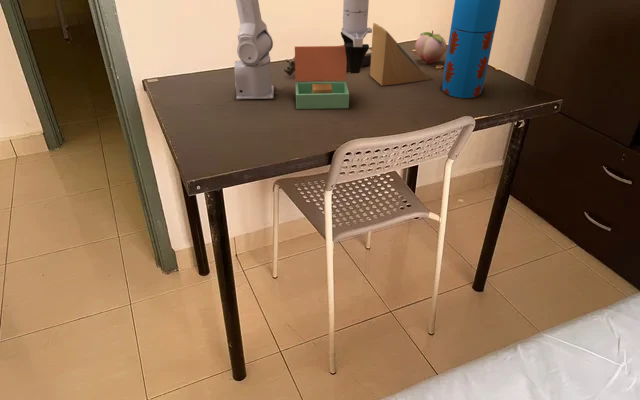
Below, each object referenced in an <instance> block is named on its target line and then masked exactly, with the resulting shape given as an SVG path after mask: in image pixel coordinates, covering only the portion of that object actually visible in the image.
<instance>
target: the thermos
mask: <svg viewBox="0 0 640 400" xmlns="http://www.w3.org/2000/svg"><path fill="white" fill-rule="evenodd" d="M501 2H502V1H501V0H454V4H453V10H452V18H451V25H450V30H449V37H448V43H447V48H446V50H447V51H446V57H445V63H444V67H443V68H444V70H443V76H442V86H441V87H442V88H441V91H443V93H444V94H447V96H451V97H454V98H460V99H472V98H476V97H477V98H478V97H479V96H480V95H481V94H482V92H483V88H484V85H485V80H486V76H487V71H488V67H489V61H490V56H491V51H492V46H493V41H494V37H495V33H496V27H497V21H498V18H499V11H500V7H501Z"/></svg>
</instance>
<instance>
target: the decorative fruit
mask: <svg viewBox="0 0 640 400" xmlns="http://www.w3.org/2000/svg"><path fill="white" fill-rule="evenodd" d="M414 50H415V53H416V54H417V56H418V58H419V59H420V60H421V61H423V62H424V63H426V64H427V65H431V64H433V63H436V62H438V61H439V60H440V59H442V58H443V56H444V54H445V53H446V50H447V42H446V40H445V38H444V37H443V36H442V35H440V34H437V33H434V30H431V32H429V31H425V32H421V33H420V34H419V37H418V38H417V39H416V41H415V44H414Z"/></svg>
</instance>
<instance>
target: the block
mask: <svg viewBox="0 0 640 400" xmlns="http://www.w3.org/2000/svg"><path fill="white" fill-rule="evenodd" d="M327 93H332V86H331V84H312V94H327Z"/></svg>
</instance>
